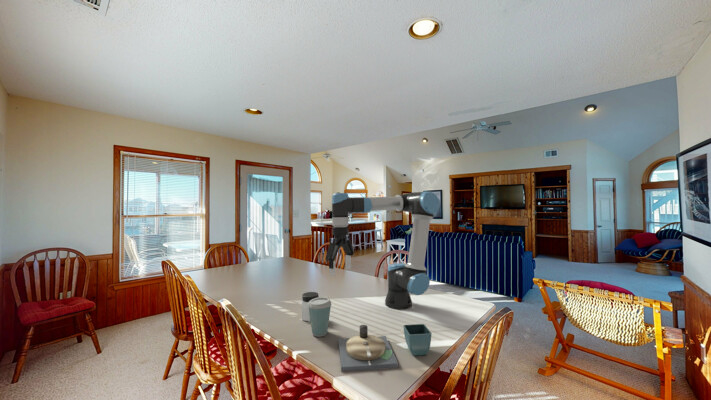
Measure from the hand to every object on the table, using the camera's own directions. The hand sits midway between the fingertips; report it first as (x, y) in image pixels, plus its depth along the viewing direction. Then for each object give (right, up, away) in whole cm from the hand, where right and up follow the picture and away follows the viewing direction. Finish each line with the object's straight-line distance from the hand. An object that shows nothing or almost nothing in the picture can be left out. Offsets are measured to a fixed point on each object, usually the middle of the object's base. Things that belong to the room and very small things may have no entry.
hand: (340, 272), depth 127 cm
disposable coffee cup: (-9, -26, -5) cm, 28 cm away
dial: (+11, -24, -23) cm, 34 cm away
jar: (-16, -27, +12) cm, 33 cm away
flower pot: (+31, -26, -21) cm, 45 cm away
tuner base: (+11, -26, -22) cm, 35 cm away
